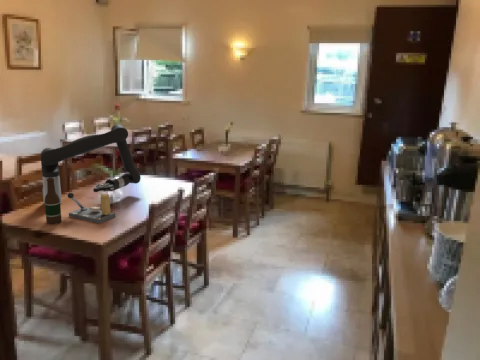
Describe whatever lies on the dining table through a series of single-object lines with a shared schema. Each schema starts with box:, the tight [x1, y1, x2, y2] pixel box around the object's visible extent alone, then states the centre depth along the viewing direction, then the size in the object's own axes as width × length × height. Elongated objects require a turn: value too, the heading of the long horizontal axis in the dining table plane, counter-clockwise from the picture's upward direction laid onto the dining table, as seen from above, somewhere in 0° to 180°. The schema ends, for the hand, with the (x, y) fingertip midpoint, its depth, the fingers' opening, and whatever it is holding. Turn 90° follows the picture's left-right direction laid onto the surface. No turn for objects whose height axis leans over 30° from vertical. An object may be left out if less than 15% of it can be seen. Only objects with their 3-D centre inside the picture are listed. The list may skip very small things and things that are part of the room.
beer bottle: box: [44, 178, 62, 225], centre depth 212 cm, size 8×8×24 cm
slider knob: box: [100, 193, 111, 215], centre depth 221 cm, size 4×4×11 cm
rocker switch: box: [88, 206, 101, 212], centre depth 226 cm, size 4×4×2 cm
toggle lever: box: [67, 192, 85, 209], centre depth 223 cm, size 3×3×14 cm
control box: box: [68, 206, 116, 224], centre depth 224 cm, size 22×12×2 cm, turn 66°
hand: (94, 190), depth 234 cm, fingers closed
